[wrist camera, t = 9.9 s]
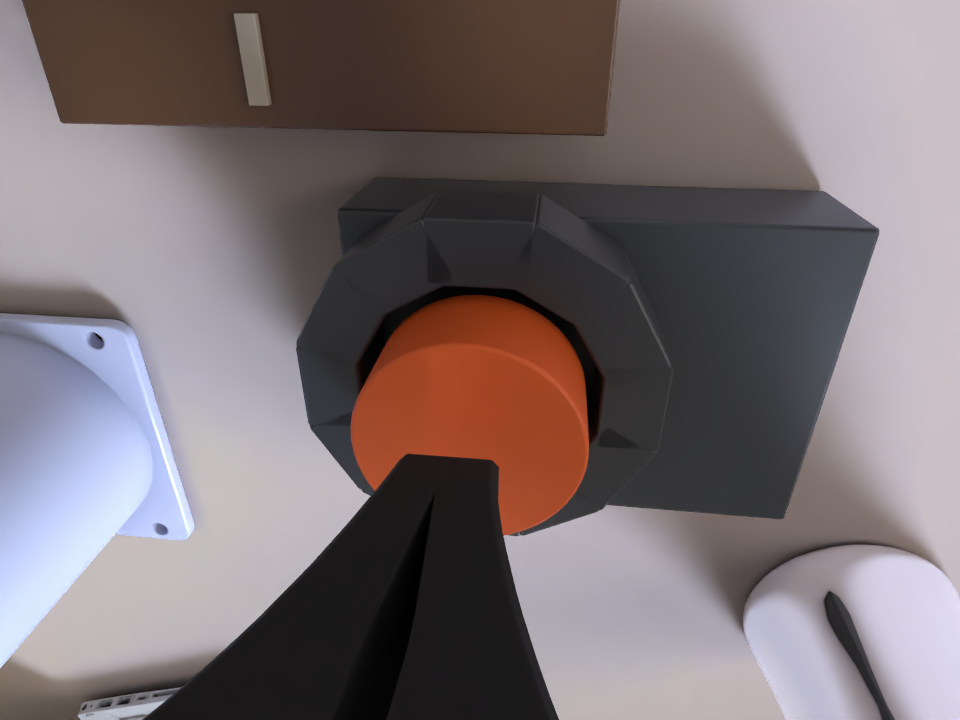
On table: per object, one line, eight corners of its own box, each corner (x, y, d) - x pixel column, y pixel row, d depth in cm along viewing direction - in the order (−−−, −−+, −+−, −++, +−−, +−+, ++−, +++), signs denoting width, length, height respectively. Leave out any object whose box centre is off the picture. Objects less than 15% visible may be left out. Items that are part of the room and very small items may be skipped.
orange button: (386, 462, 13) (361, 529, 11) (370, 287, 11) (336, 337, 9) (576, 477, 13) (579, 548, 11) (595, 298, 11) (600, 352, 9)
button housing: (378, 422, 18) (325, 537, 14) (351, 156, 14) (271, 211, 10) (754, 449, 17) (811, 583, 13) (832, 169, 13) (947, 236, 9)
